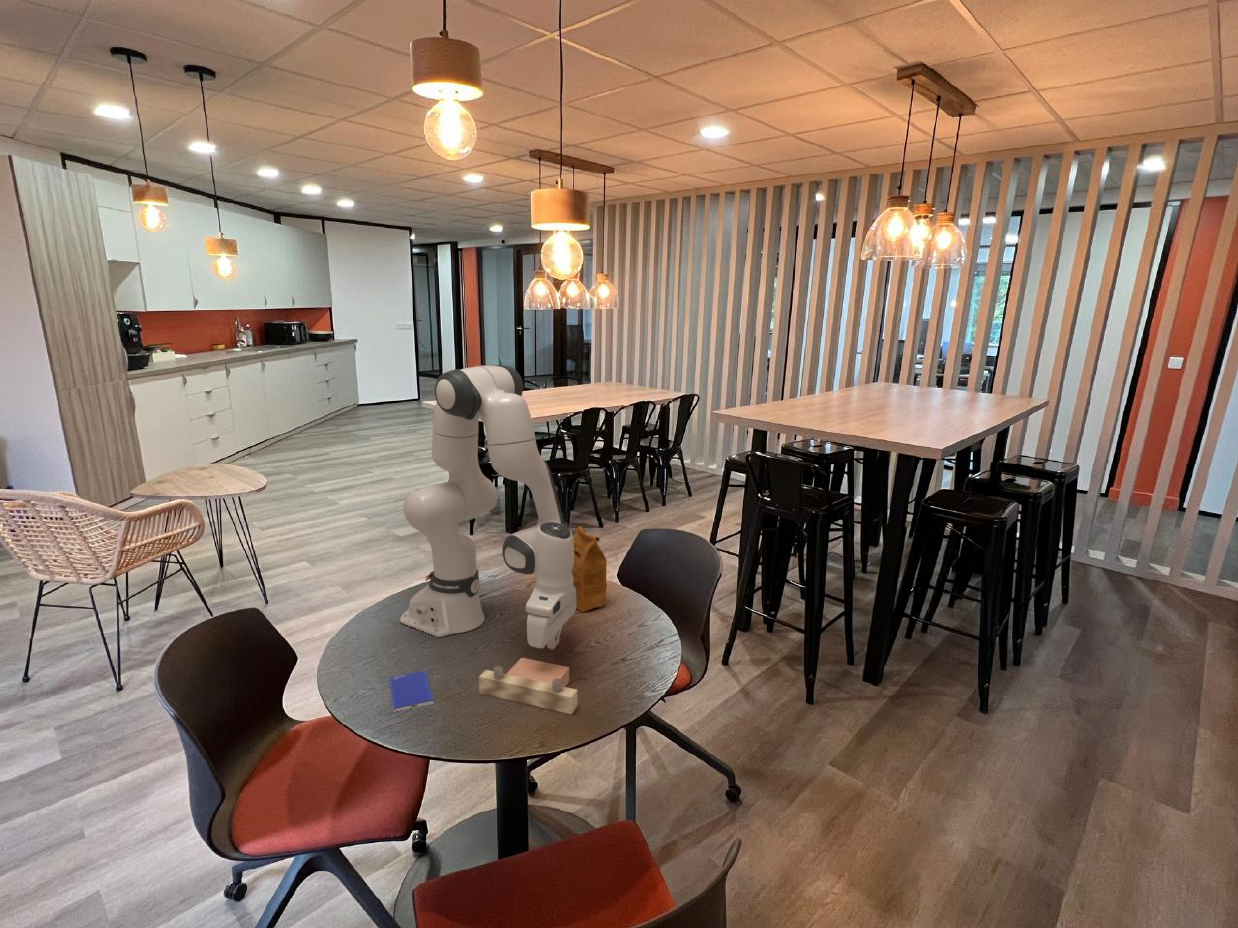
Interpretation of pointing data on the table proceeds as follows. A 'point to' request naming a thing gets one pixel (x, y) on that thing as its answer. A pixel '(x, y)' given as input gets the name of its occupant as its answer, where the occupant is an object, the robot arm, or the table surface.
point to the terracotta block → (540, 671)
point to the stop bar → (528, 691)
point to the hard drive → (410, 691)
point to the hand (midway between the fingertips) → (553, 645)
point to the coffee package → (588, 572)
